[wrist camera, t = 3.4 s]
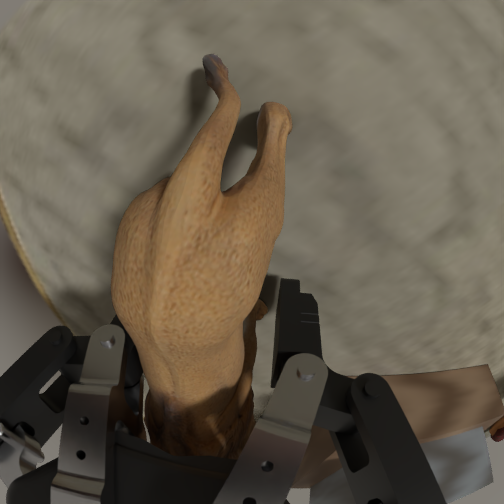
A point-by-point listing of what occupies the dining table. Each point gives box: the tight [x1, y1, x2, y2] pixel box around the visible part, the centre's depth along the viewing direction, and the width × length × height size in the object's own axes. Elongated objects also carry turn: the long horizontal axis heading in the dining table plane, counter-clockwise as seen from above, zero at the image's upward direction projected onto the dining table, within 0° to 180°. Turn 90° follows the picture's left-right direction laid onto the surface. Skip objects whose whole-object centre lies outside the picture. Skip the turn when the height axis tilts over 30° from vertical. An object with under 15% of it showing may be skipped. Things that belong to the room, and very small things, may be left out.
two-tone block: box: [291, 364, 504, 504], centre depth 15 cm, size 14×16×10 cm
